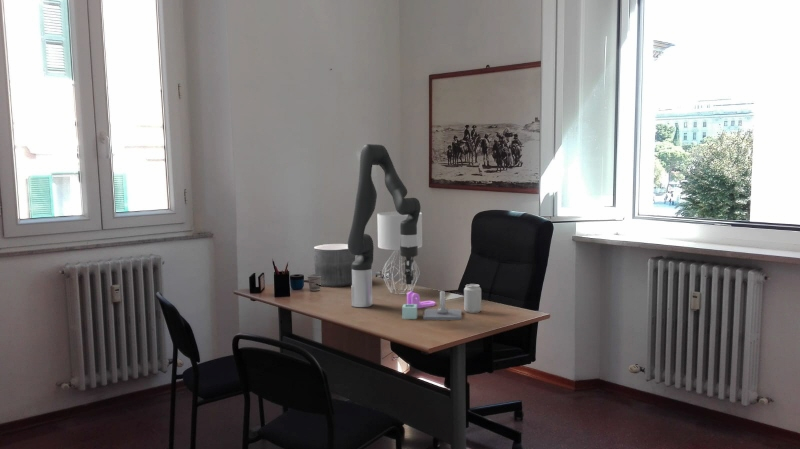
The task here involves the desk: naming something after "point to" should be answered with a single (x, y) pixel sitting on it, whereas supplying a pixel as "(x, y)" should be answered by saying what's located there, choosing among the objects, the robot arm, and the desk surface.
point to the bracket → (418, 300)
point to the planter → (334, 264)
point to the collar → (409, 311)
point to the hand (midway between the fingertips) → (409, 282)
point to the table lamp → (395, 240)
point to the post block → (442, 311)
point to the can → (472, 298)
